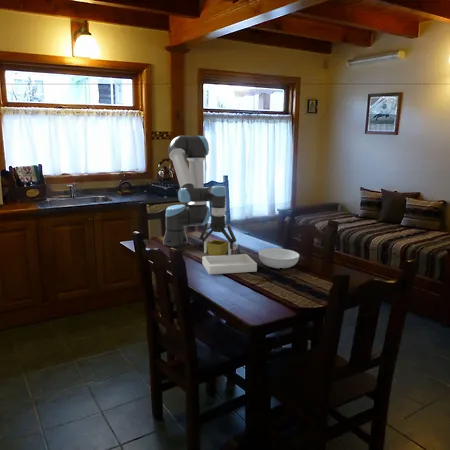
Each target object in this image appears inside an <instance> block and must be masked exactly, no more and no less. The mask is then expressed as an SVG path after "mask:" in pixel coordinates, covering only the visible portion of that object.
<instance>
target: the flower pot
mask: <svg viewBox="0 0 450 450" xmlns="http://www.w3.org/2000/svg"><path fill="white" fill-rule="evenodd" d="M228 245H229V241H228V240H226V241H225V240H219V239H213V240H211V241H209V242H208V241H207V253H208V256H220V255H227V252H228Z"/></svg>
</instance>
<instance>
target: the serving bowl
mask: <svg viewBox="0 0 450 450" xmlns="http://www.w3.org/2000/svg"><path fill="white" fill-rule="evenodd" d="M258 258H259V260H260V262H261V263H262V264H263V265H265V266H267V267H270V268H273V269H280V268H282V269H288V268H291V267H294V266H295V265H296V264H297V263H298V261H299V259H300V254H299V253H298V252H297V251H294V250H291V249H287V248H286V249H285V248H276V247H275V248H274V247H272V248H271V247H270V248H269V247H268V248H264V249H261V250H259V251H258Z"/></svg>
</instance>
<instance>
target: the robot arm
mask: <svg viewBox="0 0 450 450" xmlns="http://www.w3.org/2000/svg"><path fill="white" fill-rule="evenodd" d="M209 151H210V145H209V142H208V140H207V138H206V137H205V136H203V135H177V136H176V137H174V138H173V139H171V141H170V142H169V145H168V149H167V154H168V157H169V159H170V160H171V161H172V164H173V169H174V172H175V174H176V177H177V181H178V184H179V189H178V192H177V196H178V201H179V202H180V203H187V206H186V205H185V204H174V205H173V204H172V205H170V206H167V208H166V209H165V233H164V236H163V238H162V244H163V246H166V245H167V246H166V247H175V248H177V247H178V248H179V247H183V246H187V245H188V244H189V239H188V236H187V233H186V227H194V226H195V227H196V226H199V227H200V226H204V228H203V229H202V232H201V234H200V236H199V238H198V239H199V240H201V241H202V247H203V250H204V251H203V253H204V254H206V253H208V248H207V243H208V240H207V239H208V238H209V236H211V235H212V233H222V235H224V237H225V238H226V239H227V242H228V246H227V252H228V254H227V255H232V250H233V248H234V243H236V242H237V238H236V236H235V234H234V232H233V230H232V225H231V224H230V223H229V224H226V195H227V192H226V187H225V186H224V185H212V186H206V187H205V186H204V184H205V183H204V182H205V181H204V161H205V160H206V157H207V156H208V155H209ZM187 161H188V162H187ZM208 202H210V207H209V206H208V205H207V203H208ZM209 221H210V223H209ZM208 228H211V229H210V230H209V231H208V232H207V230H208ZM226 229H227V231H228V232H227V231H226ZM206 232H207V233H206ZM205 234H206V235H205Z"/></svg>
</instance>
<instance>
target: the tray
mask: <svg viewBox="0 0 450 450" xmlns="http://www.w3.org/2000/svg"><path fill="white" fill-rule="evenodd" d="M201 259H202V260H201V262H202V266H203V267H204V268H205V270H206V271H207V273H208V275H219V274H220V275H221V274H235V273H237V274H238V273H249V272H250V273H251V272H252V273H253V272H257V270H258V263H257V262H256V261H255V260H254V259H252V258H251V257H250V256H249V255H248V254H247V253H243V254H230V255H228V254H225V255H220V256H210V255H204V256H202V258H201Z"/></svg>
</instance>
